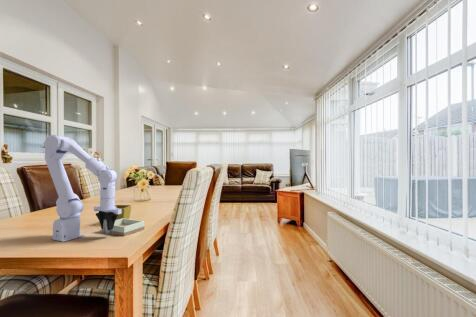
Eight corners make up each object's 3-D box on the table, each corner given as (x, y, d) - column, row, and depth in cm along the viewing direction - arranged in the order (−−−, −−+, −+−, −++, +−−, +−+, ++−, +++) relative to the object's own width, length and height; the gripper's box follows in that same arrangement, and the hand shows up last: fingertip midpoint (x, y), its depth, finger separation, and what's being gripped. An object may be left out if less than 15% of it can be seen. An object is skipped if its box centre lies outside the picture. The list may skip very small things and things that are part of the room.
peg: (106, 234, 111) (106, 220, 111) (101, 233, 112) (101, 219, 112) (112, 232, 114) (113, 218, 114) (107, 231, 115) (107, 217, 115)
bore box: (124, 236, 115) (124, 227, 115) (101, 232, 121) (102, 223, 120) (144, 229, 126) (144, 221, 126) (122, 226, 131) (123, 218, 131)
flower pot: (124, 225, 132) (124, 208, 132) (107, 225, 132) (107, 207, 132) (131, 221, 141) (131, 204, 141) (115, 221, 141) (115, 204, 141)
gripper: (127, 197, 113) (127, 229, 113) (103, 195, 119) (103, 225, 119) (113, 200, 107) (113, 233, 107) (89, 197, 113) (89, 228, 113)
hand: (107, 229), depth 113 cm, fingers closed on peg, 3 cm apart
